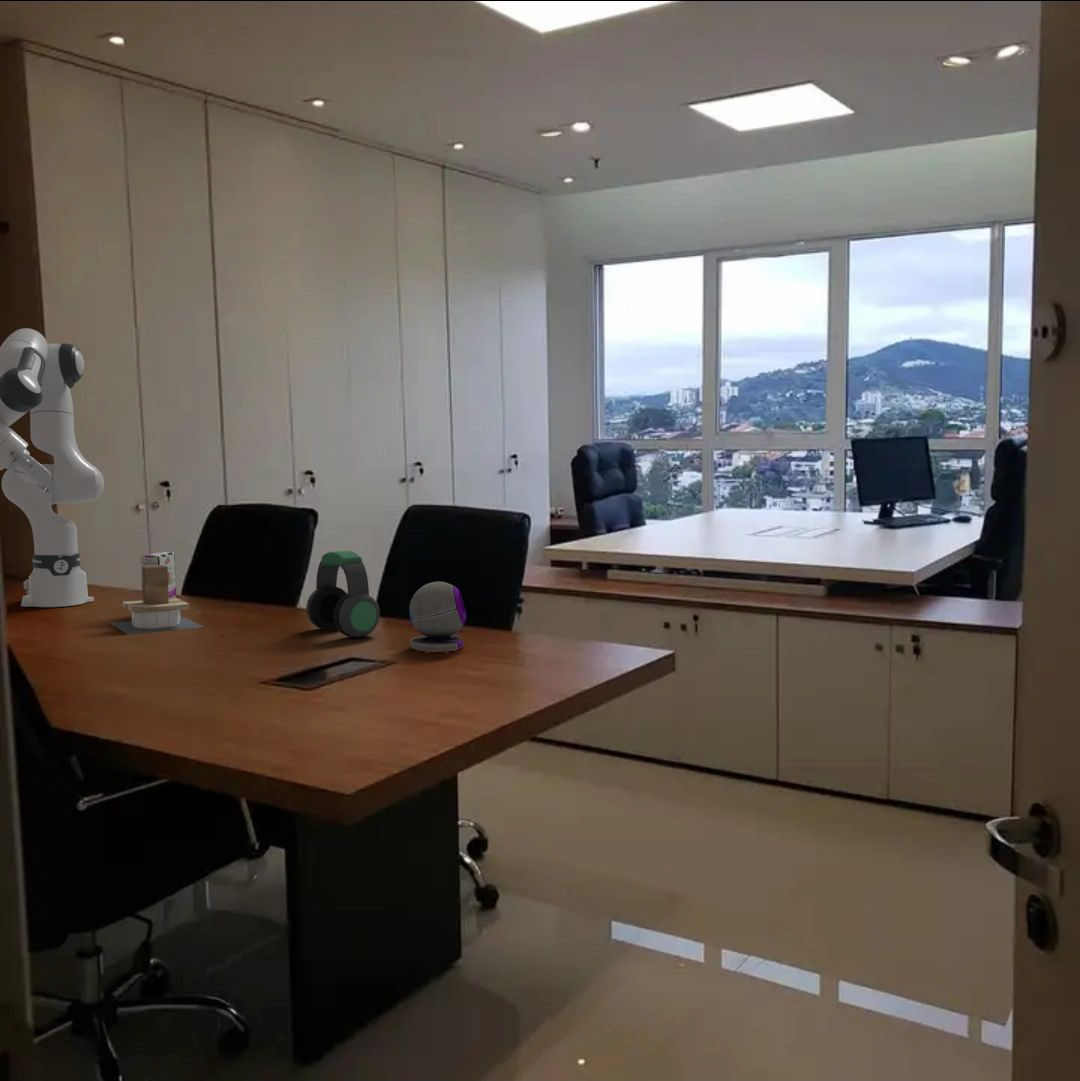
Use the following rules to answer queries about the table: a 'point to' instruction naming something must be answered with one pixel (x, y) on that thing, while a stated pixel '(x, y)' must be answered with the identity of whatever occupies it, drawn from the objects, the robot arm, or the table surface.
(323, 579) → the headphones
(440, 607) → the webcam
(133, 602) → the lid
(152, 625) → the bowl
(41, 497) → the robot arm
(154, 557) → the candy bar box
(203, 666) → the table surface
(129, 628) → the mat
